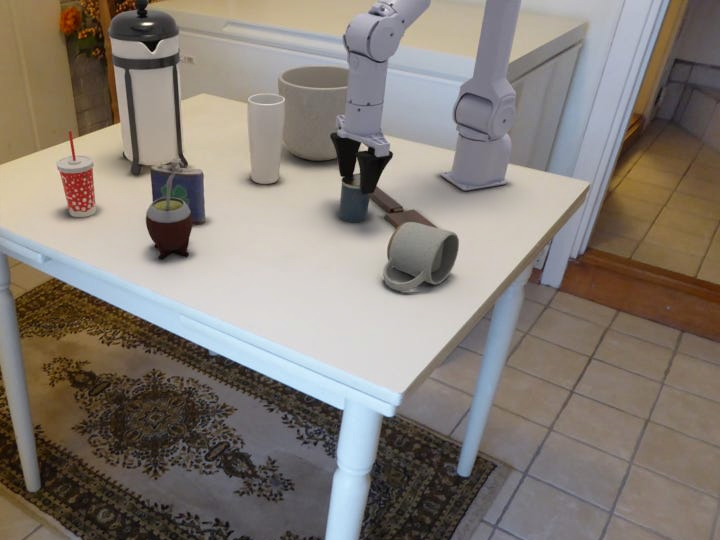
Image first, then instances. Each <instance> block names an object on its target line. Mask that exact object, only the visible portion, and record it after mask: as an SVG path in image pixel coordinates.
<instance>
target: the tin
mask: <svg viewBox="0 0 720 540" xmlns="http://www.w3.org/2000/svg"><path fill="white" fill-rule="evenodd" d="M339 198H340V200H339V211H338V217H339V218H340V220H342V221H345V222H348V223H362V222H365V221H366V220H367V219H368V214H369V205H370V194H362V193H361V190H360V175H347V176H345V177H341V188H340V197H339Z"/></svg>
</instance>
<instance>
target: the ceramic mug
mask: <svg viewBox="0 0 720 540" xmlns="http://www.w3.org/2000/svg"><path fill="white" fill-rule="evenodd" d="M459 246H460V239H459V237H458V234H457V233H456V232H454V231H451V230H446V229H443V228H439V227H437V228H435V227H431V226H427V225H423V224H420V223H415V222H406V223H403V224H401V225H400V226H399V227H398V228H396V229H395V230H394V231H393V233H392V234H391V236H390V238H389V241H388V244H387V249H386V257H387V260H388V261H387V262H386V263H385V265H384V267H383V270H382V271H383V272H382V276H383V279H384V282H385V284H386V285H387V287H389V288H390V289H392V290H395V291H397V292H406V291H410V290H414V289H415V288H417V287H418V286H419V285H421V284H422V283H423V282H426V283H428V284H430V285H434V286H435V285H440V284H441V283H443V282H444V281H445V280H446V278H447V277H448V276H449V275H450V273H451V271H452V270H453V268H454V266H455V263H456V261H457V257H458V254H459V248H460V247H459ZM392 268H395V269H396V270H398V271H400V272H402V273H404V274H408V275H409V276H412V277H414V278H413V279H411V280H408V281H404V282H394V281H393V280H392V278H390V277H389V276H388V275H389V273H390V271H391V270H392Z"/></svg>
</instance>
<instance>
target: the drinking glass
mask: <svg viewBox="0 0 720 540" xmlns="http://www.w3.org/2000/svg"><path fill="white" fill-rule="evenodd" d="M246 110H247V113H246V114H247V116H246V117H247V118H246V120H247V132H248V133H247V135H248V145H249V146H248V147H249V156H250V157H249V158H250V178H251V180H252V181H253V182H254V183H257V184H261V185H271V184H274V183H276V182H278V180H279V179H280V170H281V169H280V168H281V167H280V166H281V160H282V159H281V158H282V151H283V150H282V149H283V143H284V142H283V134H284V125H285V98H284V97H282V96H280V95H279V94H276V93H257V94H252V95H251V96H249V97H248V98H247V109H246Z"/></svg>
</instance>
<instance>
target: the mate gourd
mask: <svg viewBox="0 0 720 540" xmlns="http://www.w3.org/2000/svg"><path fill="white" fill-rule="evenodd" d="M174 176H175V173H173V174H172V175H171V176H170V177H169V179H168V181H167V184H166V188H167V197H166V198H160V199H157V200H155V201H154V202H153V201H152V202H151V204H150V205H149V207H148V209H147V210H146V216H145V225H146V229H147V232H148V234H149V237H150V239H151V241H152V242H153V243H154V245H153V246H154V249H157V250H158V253H159V255H157V258H158V260H160V261H164V260H165V259H166V258H168V257H169V256H170V255H177V256H181V257H184V258H187V257H189V255H190V252H188V247H189V242H190V236H191V234H192V230H193V225H194V224H193V220H192V216H191V211H190V209H189V207H188V205H187V204H186V203H185V202H184V201H183V200H181V199H178V198H174V197H170V191H171V187H172V179H173V178H174Z"/></svg>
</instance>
